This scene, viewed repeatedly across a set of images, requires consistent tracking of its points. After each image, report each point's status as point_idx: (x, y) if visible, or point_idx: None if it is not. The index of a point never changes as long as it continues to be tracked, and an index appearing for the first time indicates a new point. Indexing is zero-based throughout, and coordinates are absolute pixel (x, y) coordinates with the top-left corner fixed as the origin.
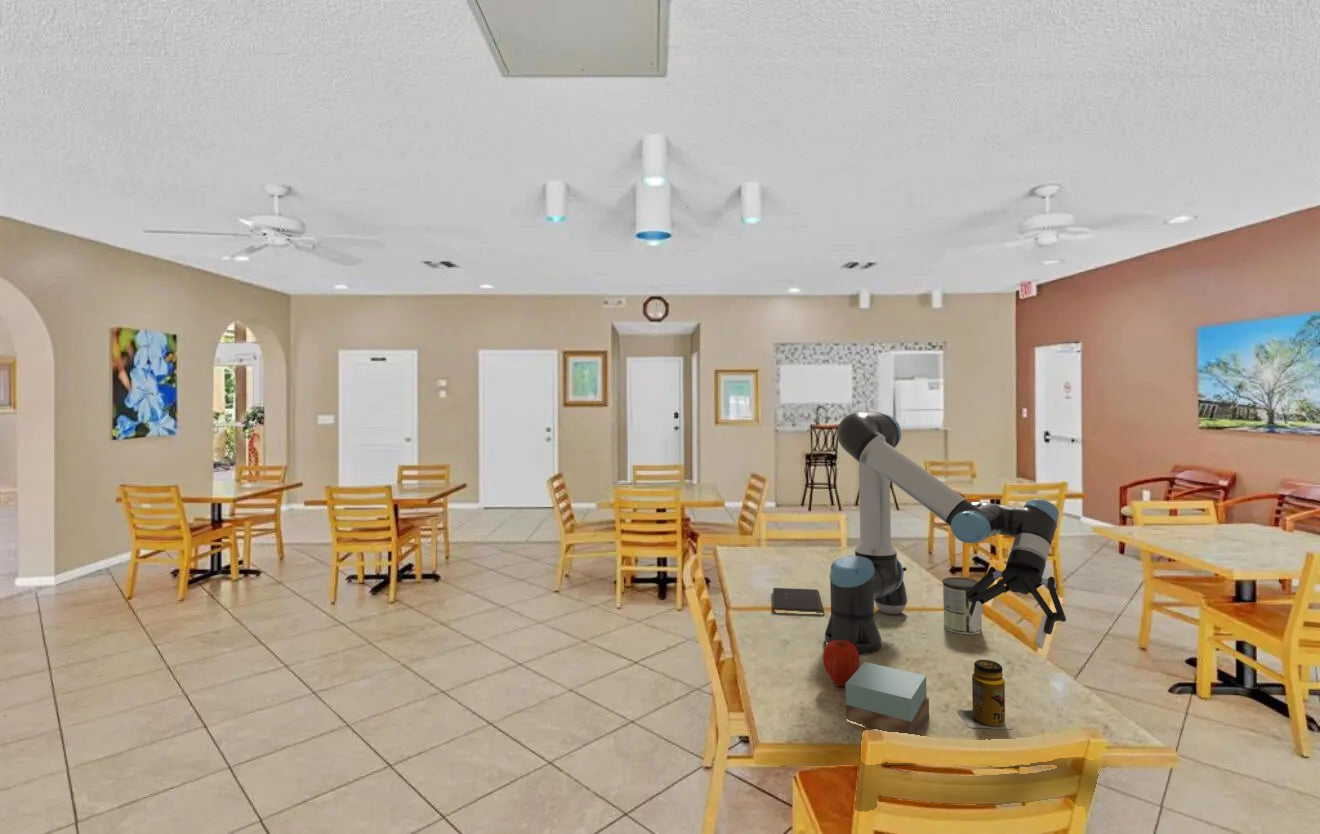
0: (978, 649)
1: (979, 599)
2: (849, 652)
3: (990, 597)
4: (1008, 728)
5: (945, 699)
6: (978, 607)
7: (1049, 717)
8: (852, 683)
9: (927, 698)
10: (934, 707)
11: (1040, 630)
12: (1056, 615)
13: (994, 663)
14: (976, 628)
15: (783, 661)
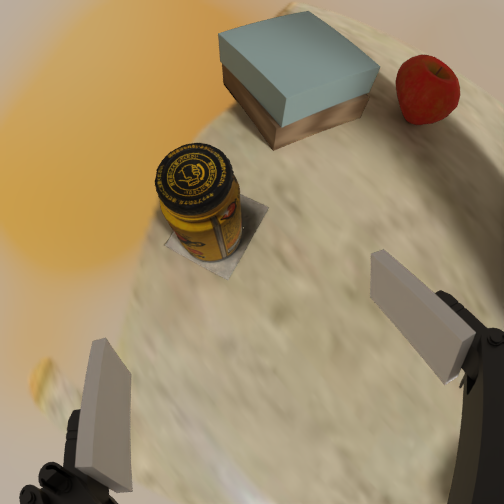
0: (451, 483)
1: (480, 357)
2: (413, 65)
3: (466, 435)
4: (170, 239)
5: (317, 229)
6: (436, 318)
7: (163, 361)
8: (304, 14)
9: (273, 123)
10: (297, 183)
11: (89, 384)
12: (52, 494)
13: (186, 195)
14: (378, 302)
15: (485, 119)
